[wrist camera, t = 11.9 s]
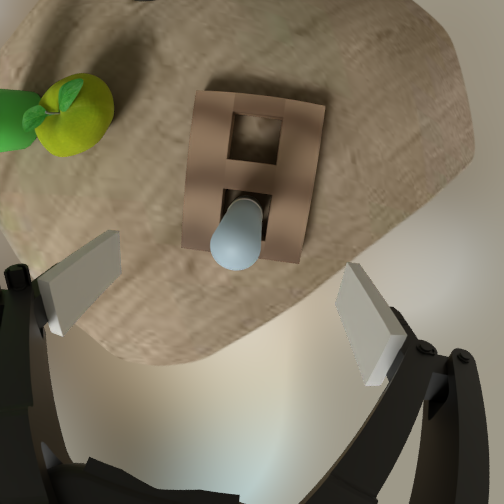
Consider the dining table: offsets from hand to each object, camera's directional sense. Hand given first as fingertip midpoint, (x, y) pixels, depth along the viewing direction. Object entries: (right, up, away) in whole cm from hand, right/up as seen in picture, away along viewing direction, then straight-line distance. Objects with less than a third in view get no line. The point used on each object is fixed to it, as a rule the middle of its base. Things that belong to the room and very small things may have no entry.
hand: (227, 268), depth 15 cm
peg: (+1, +5, +16) cm, 17 cm away
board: (+1, +9, +14) cm, 17 cm away
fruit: (-18, +18, +12) cm, 28 cm away
